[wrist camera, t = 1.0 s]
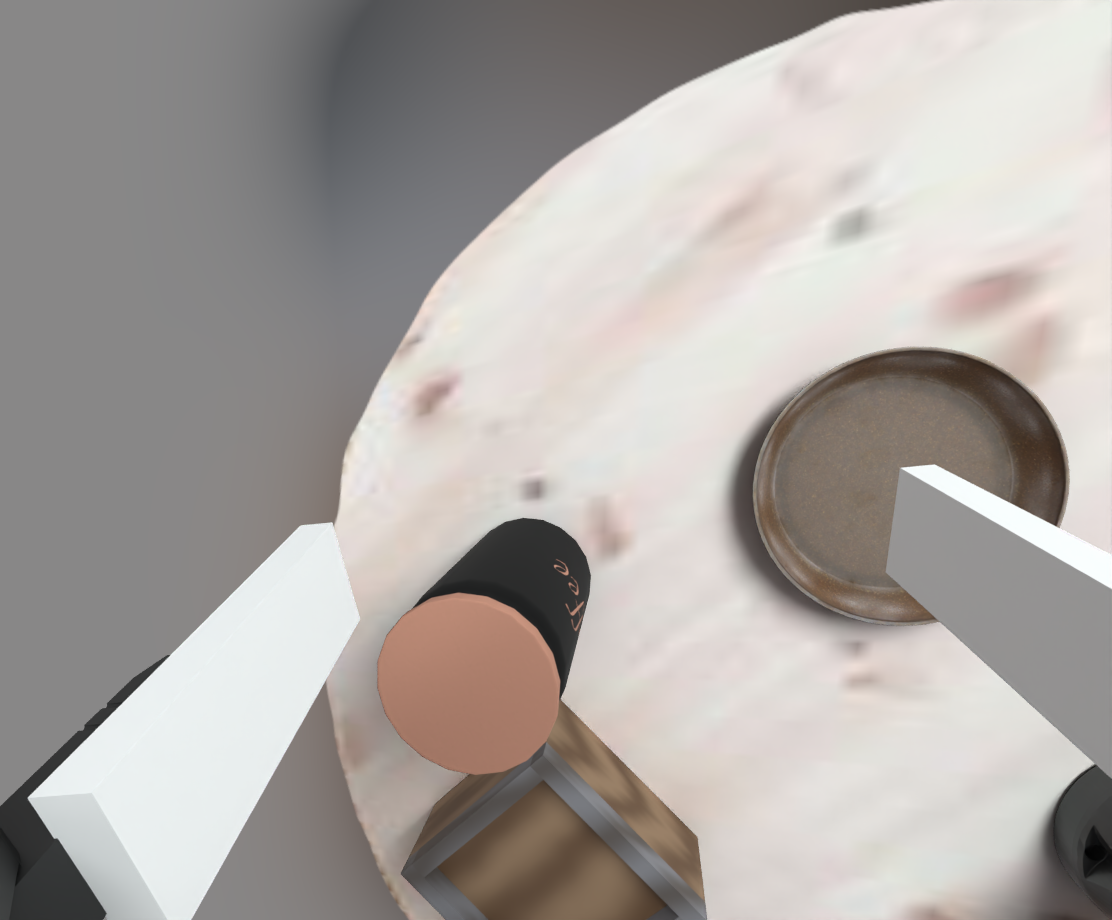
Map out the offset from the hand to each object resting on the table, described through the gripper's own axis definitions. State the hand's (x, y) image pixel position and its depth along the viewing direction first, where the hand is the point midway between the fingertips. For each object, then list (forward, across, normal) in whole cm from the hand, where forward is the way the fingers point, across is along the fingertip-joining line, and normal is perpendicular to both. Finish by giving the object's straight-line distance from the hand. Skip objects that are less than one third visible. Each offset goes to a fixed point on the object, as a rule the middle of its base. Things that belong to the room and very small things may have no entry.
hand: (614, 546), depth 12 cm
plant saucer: (+26, -23, +12) cm, 37 cm away
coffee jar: (+29, +5, +19) cm, 35 cm away
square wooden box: (+23, +6, +43) cm, 49 cm away
